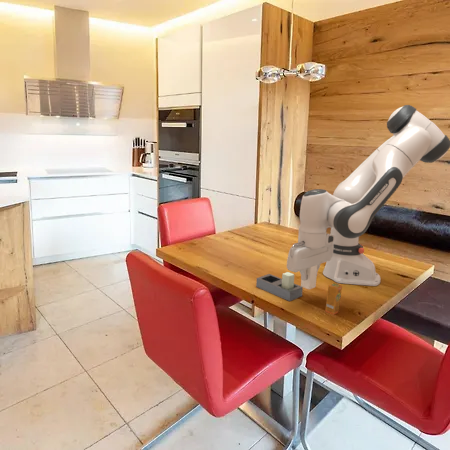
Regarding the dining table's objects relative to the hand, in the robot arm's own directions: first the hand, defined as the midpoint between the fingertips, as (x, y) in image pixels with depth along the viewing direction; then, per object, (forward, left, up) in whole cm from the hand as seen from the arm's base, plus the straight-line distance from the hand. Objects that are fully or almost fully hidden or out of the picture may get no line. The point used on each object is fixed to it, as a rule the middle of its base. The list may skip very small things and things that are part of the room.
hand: (309, 278), depth 128 cm
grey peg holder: (+11, -6, -10) cm, 16 cm away
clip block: (0, 0, -3) cm, 3 cm away
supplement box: (-9, +3, -10) cm, 14 cm away
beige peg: (+8, -4, -9) cm, 13 cm away
